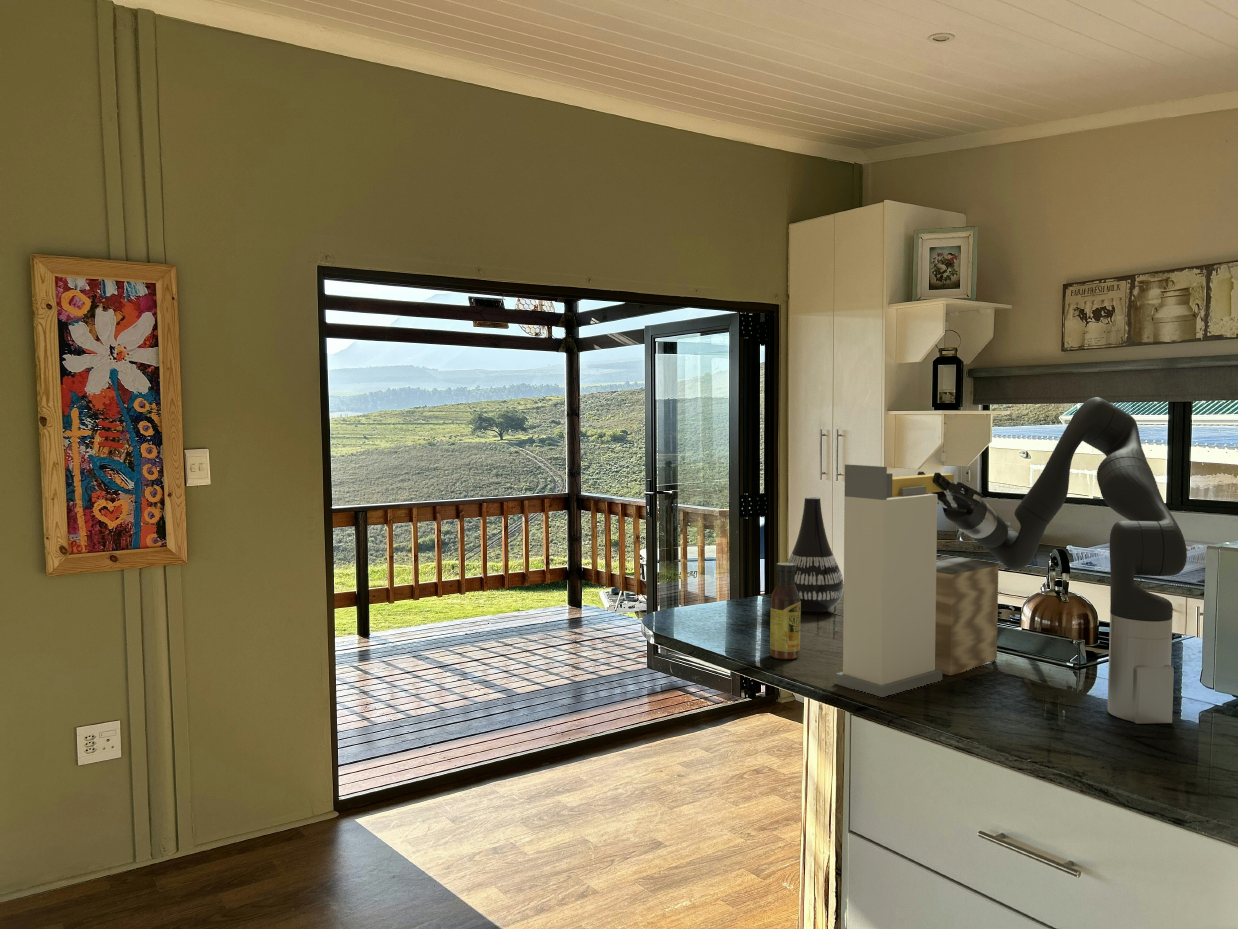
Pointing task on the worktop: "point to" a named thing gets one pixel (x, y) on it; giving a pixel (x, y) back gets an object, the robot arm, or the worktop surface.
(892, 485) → the plug rod
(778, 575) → the sauce bottle
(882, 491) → the socket tower
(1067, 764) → the worktop surface
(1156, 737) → the worktop surface
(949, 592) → the block
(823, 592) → the vase
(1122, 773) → the worktop surface
